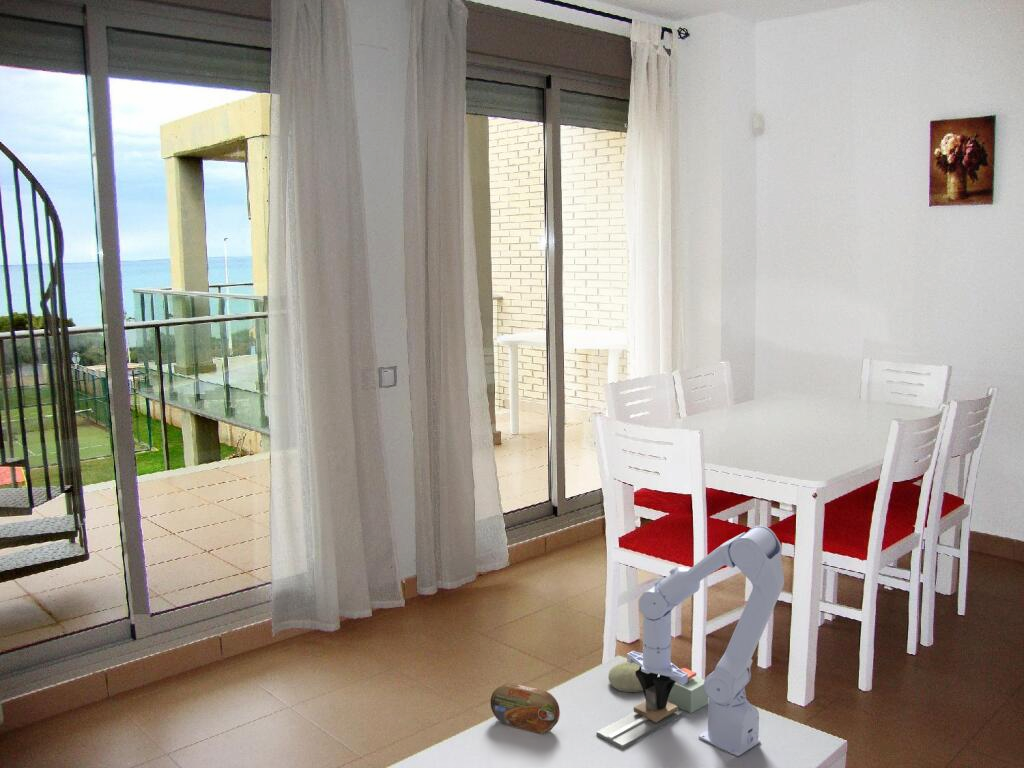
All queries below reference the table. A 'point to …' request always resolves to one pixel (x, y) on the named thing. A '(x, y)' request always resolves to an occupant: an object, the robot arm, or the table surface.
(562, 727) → the table surface
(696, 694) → the pale green block
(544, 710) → the tin
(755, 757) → the table surface
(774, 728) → the table surface
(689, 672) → the button
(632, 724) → the track
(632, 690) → the sea urchin shell
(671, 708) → the carriage
